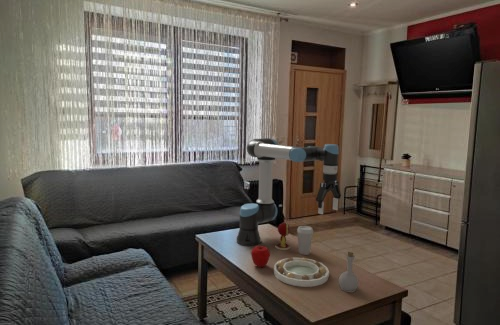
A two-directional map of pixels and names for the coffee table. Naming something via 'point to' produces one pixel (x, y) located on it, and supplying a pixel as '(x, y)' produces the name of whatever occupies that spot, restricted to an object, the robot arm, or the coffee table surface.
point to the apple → (260, 256)
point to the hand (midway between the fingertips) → (328, 211)
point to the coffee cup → (304, 239)
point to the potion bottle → (348, 276)
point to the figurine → (283, 236)
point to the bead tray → (301, 272)
